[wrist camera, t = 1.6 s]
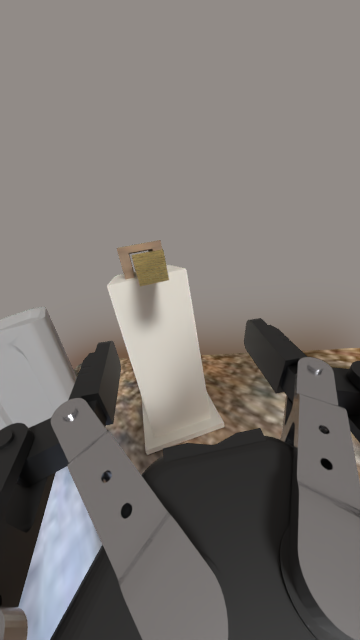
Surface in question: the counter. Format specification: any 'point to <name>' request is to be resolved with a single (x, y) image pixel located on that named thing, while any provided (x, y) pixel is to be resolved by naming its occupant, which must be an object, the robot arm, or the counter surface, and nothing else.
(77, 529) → the counter surface
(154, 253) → the gold block
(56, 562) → the counter surface
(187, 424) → the mount
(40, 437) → the robot arm
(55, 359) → the triangular grey vase
